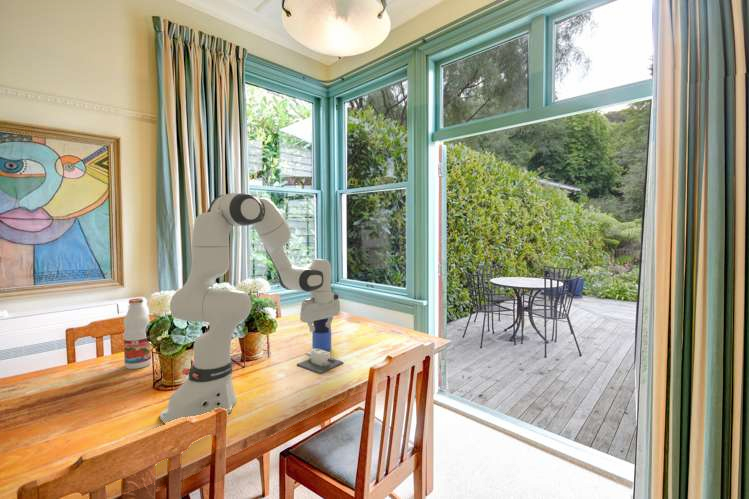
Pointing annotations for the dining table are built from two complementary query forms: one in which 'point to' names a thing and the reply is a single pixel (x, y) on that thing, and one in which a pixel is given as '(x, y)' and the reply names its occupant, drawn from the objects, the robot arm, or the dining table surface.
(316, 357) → the plug
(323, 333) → the water bottle
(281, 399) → the dining table surface
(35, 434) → the dining table surface
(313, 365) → the mat
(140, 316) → the fruit juice
